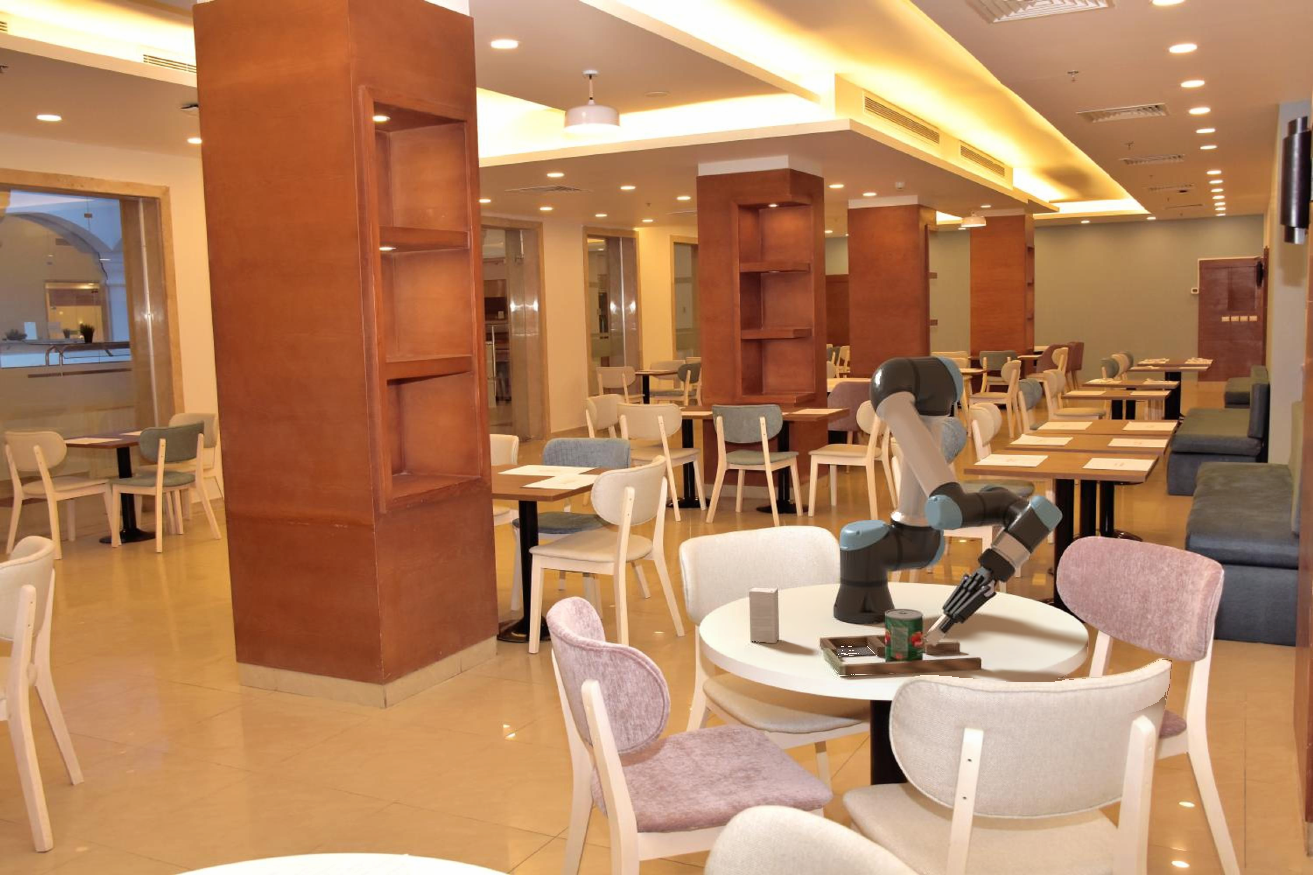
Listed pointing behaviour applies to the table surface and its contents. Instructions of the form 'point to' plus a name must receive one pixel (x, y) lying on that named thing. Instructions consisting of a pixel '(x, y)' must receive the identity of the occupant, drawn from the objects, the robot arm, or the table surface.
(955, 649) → the wooden rail frame
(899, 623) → the canned tomato
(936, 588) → the table surface
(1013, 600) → the table surface
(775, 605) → the skincare box
